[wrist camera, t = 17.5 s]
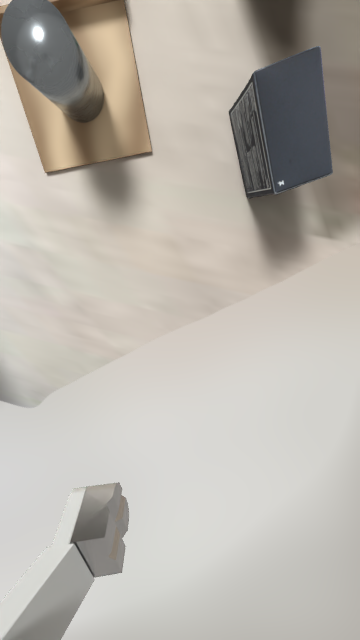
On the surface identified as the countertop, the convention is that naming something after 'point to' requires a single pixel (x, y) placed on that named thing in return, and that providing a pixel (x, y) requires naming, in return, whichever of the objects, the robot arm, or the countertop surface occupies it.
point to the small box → (283, 126)
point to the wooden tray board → (118, 86)
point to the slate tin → (51, 58)
